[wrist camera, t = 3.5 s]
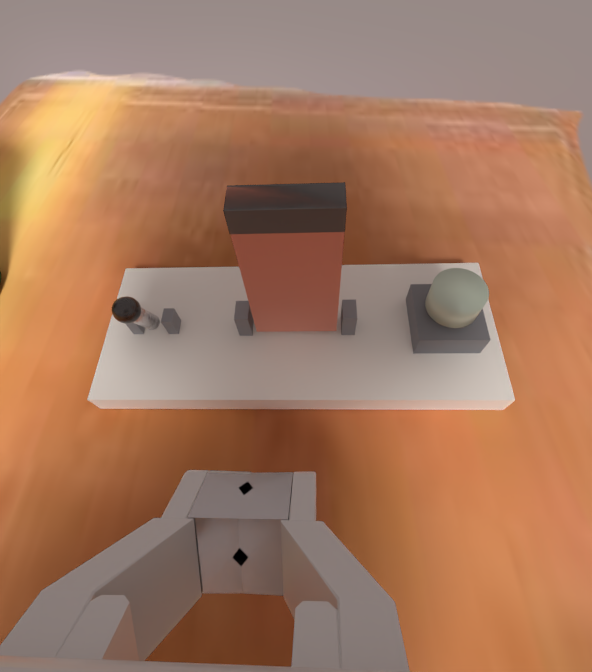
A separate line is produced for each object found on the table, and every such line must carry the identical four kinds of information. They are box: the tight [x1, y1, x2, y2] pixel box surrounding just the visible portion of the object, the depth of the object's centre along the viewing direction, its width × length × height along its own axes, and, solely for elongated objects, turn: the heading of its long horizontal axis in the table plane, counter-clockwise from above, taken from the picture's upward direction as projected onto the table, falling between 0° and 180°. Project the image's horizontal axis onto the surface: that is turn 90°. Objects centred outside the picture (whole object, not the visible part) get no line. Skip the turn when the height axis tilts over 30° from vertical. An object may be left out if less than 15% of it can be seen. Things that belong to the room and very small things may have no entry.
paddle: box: [223, 183, 347, 332], centre depth 25 cm, size 2×6×12 cm, turn 89°
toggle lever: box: [112, 296, 160, 330], centre depth 28 cm, size 2×2×5 cm
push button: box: [425, 268, 489, 328], centre depth 27 cm, size 4×4×2 cm
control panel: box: [87, 263, 515, 410], centre depth 30 cm, size 12×30×4 cm, turn 89°
